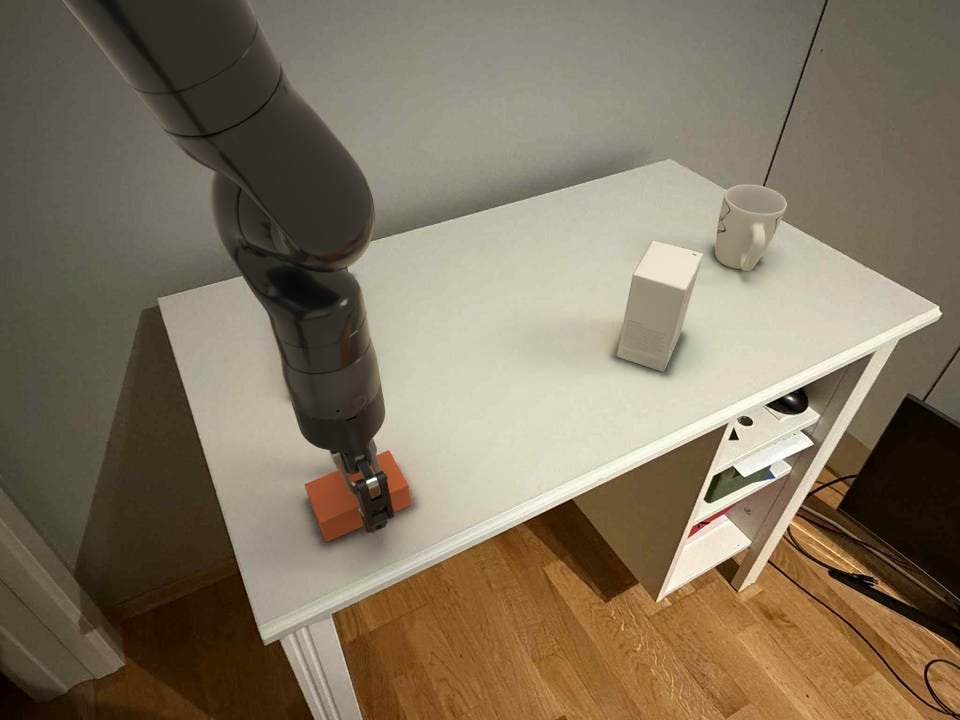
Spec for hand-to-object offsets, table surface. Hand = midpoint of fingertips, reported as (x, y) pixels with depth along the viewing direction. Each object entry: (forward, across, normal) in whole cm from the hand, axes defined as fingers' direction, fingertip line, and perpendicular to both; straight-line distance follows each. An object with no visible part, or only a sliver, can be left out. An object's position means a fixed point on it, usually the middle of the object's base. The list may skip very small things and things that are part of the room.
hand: (360, 493), depth 64 cm
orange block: (+2, 0, 0) cm, 2 cm away
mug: (+2, -13, +65) cm, 66 cm away
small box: (+2, -5, +41) cm, 41 cm away
